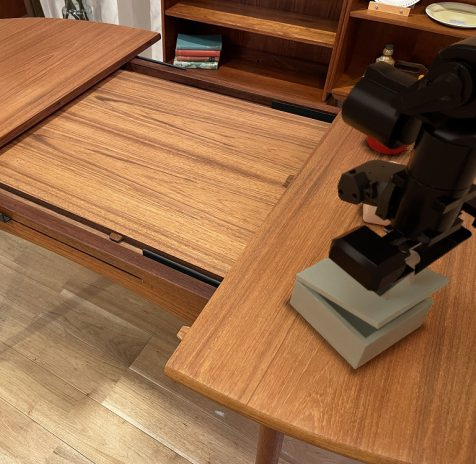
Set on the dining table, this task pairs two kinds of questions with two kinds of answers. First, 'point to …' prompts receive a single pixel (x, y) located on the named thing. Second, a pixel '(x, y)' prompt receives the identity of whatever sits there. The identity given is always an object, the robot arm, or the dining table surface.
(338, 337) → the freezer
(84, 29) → the dining table surface
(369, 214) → the pepper shaker
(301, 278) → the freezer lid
